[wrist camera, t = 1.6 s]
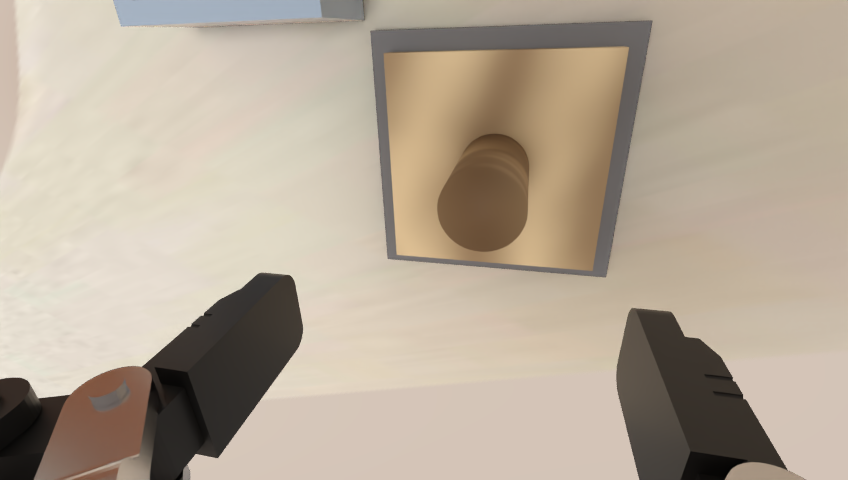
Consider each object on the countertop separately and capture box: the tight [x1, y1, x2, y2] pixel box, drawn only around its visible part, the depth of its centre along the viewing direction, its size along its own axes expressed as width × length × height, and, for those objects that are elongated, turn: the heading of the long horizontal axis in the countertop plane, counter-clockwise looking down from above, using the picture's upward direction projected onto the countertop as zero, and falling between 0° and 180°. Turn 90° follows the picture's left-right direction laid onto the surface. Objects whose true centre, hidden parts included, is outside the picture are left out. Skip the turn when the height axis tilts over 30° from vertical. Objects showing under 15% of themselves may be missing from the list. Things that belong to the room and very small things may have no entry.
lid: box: [384, 46, 629, 271], centre depth 20 cm, size 11×11×7 cm
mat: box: [371, 21, 652, 277], centre depth 23 cm, size 13×13×1 cm
